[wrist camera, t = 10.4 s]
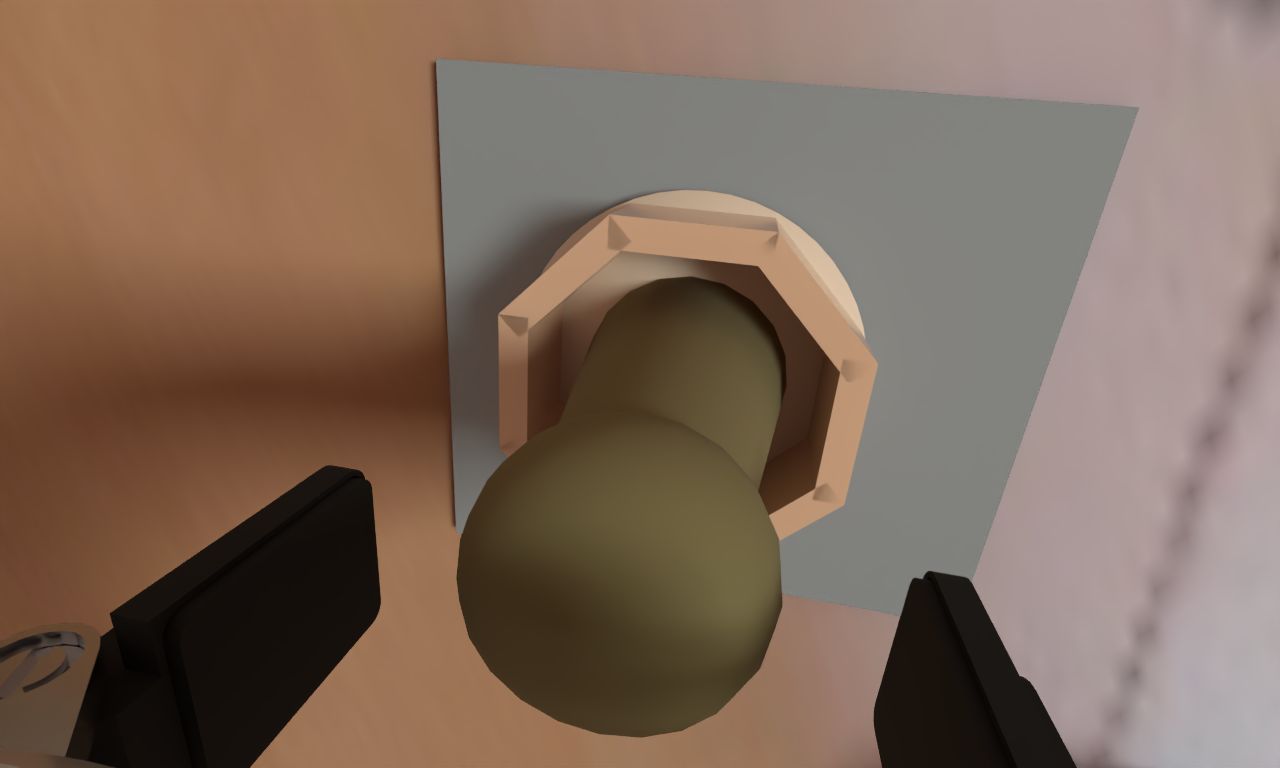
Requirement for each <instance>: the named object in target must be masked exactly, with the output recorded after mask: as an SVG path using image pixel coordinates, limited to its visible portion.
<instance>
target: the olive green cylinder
mask: <svg viewBox="0 0 1280 768" xmlns="http://www.w3.org/2000/svg"><path fill="white" fill-rule="evenodd" d="M786 386H787V383H786V355H785V353H784V350H783V348H782V345H781V342H780V340H779V337H778V335H777V332H776V330H775V327H774V325H773V324H772V323H771V322H770V321H769V320H768V318H767V317H766V316H765V315H764V314H763V312H762V311H761V310H760V309H759V308H758V307H757V305H756V304H755V303H754V302H753V301H752V300H750V299H748V298H747V297H745V296H744V295H742V294H740V293H739V292H737V291H735V290H734V289H732V288H730V287H729V286H727V285H725V284H723V283H719V282H714V281H710V280H706V279H702V278H698V277H693V276H688V277H676V278H663V279H658V280H655V281H653V282H651V283H648V284H646V285H644V286H641V287H639V288H636V289H634V290H632V291H630V292H629V293H628V294H626V295H625V296H624V297H623V298H622V299H621V300H620V301H619V302H617V303H616V304H615V305H614V306H613V307H612V308H611V309H610V310H609V311H607V313H606V315H605V317H604V319H603V320H602V322H601V324H600V326H599V328H598V329H597V331H596V333H595V335H594V337H593V339H592V341H591V344H590V346H589V349H588V351H587V354H586V356H585V359H584V361H583V364H582V366H581V369H580V371H579V374H578V377H577V379H576V382H575V384H574V387H573V389H572V392H571V394H570V397H569V399H568V402H567V404H566V407H565V409H564V412H563V414H562V417H561V419H560V422H559V424H558V425H555V426H553V427H550V428H548V429H546V430H544V431H542V432H540V433H538V434H536V435H534V436H533V437H532V438H531V439H530V440H528V441H527V442H526V443H525V444H524V445H522V446H521V447H520V448H519V449H518V450H517V451H515V452H514V453H513V454H512V455H511V456H509V457H508V458H507V459H506V460H505V461H503V462H502V463H501V465H500V466H499V467H498V468H497V469H496V470H495V472H494V473H493V474H492V475H491V476H490V477H489V478H488V480H487V481H486V483H485V485H484V487H483V489H482V491H481V493H480V495H479V497H478V498H477V500H476V502H475V504H474V506H473V508H472V510H471V512H470V513H469V515H468V518H467V521H466V524H465V527H464V530H463V533H462V536H461V539H460V548H459V558H458V568H457V586H458V593H459V601H460V605H461V609H462V613H463V616H464V620H465V624H466V628H467V631H468V635H469V638H470V640H471V641H472V643H473V645H474V646H475V648H476V649H477V651H478V652H479V654H480V656H481V657H482V659H483V660H484V662H485V664H486V665H487V667H488V668H489V670H490V671H491V672H492V673H493V674H494V675H495V676H496V677H497V678H498V679H499V680H500V681H501V682H502V683H504V684H505V685H506V686H507V687H508V688H509V689H510V690H511V691H512V692H513V693H514V694H515V695H516V696H517V697H519V698H520V699H521V700H522V701H524V702H526V703H528V704H529V705H531V706H533V707H535V708H536V709H538V710H540V711H541V712H543V713H545V714H547V715H548V716H550V717H552V718H554V719H555V720H557V721H560V722H563V723H566V724H569V725H572V726H575V727H579V728H582V729H585V730H588V731H591V732H594V733H598V734H605V735H617V736H630V737H647V736H653V735H659V734H665V733H671V732H677V731H682V730H684V729H686V728H688V727H690V726H692V725H694V724H696V723H698V722H700V721H702V720H704V719H706V718H708V717H710V716H712V715H714V714H716V713H717V712H718V711H719V710H721V709H722V708H723V707H724V706H725V705H726V704H727V703H728V702H729V701H730V700H731V699H732V698H733V697H734V696H735V695H736V693H737V692H738V691H739V690H740V689H741V688H742V687H743V686H744V685H745V684H746V683H747V682H748V681H749V680H750V679H751V678H752V677H753V675H754V674H755V673H756V672H757V671H758V670H759V669H760V667H761V665H762V662H763V659H764V657H765V654H766V651H767V649H768V646H769V643H770V641H771V638H772V635H773V633H774V630H775V627H776V624H777V621H778V618H779V615H780V612H781V609H782V585H781V562H780V548H779V538H778V535H777V533H776V531H775V528H774V526H773V524H772V522H771V519H770V517H769V515H768V512H767V510H766V508H765V505H764V503H763V501H762V499H761V496H760V494H759V492H758V490H759V486H760V482H761V479H762V475H763V471H764V468H765V464H766V460H767V456H768V453H769V449H770V445H771V442H772V438H773V434H774V431H775V427H776V423H777V419H778V416H779V412H780V408H781V405H782V401H783V397H784V393H785V390H786Z"/></svg>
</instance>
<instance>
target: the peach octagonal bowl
mask: <svg viewBox="0 0 1280 768" xmlns="http://www.w3.org/2000/svg"><path fill="white" fill-rule="evenodd" d="M688 276H693V277H698V278H702V279H706V280H710V281H714V282H719V283H723V284H725V285H727V286H729V287H730V288H732V289H734V290H735V291H737V292H739V293H740V294H742V295H744V296H745V297H747V298H748V299H750V300H752V301H753V302H754V303H755V304H756V305H757V307H758V308H759V309H760V310H761V311H762V312H763V314H764V315H765V316H766V317H767V318H768V320H769V321H770V322H771V323H772V324H773V325H774V327H775V330H776V332H777V335H778V337H779V340H780V342H781V345H782V348H783V350H784V353H785V355H786V383H787V386H786V390H785V393H784V397H783V401H782V405H781V408H780V412H779V416H778V419H777V423H776V427H775V431H774V434H773V438H772V442H771V445H770V449H769V453H768V456H767V460H766V464H765V468H764V471H763V475H762V479H761V482H760V486H759V490H758V492H759V494H760V496H761V499H762V501H763V503H764V505H765V508H766V510H767V512H768V515H769V517H770V519H771V522H772V524H773V526H774V528H775V531H776V533H777V535H778V538H779V541H780V540H782V539H784V538H786V537H787V536H789V535H791V534H793V533H795V532H796V531H798V530H800V529H802V528H804V527H805V526H807V525H809V524H811V523H813V522H815V521H816V520H818V519H820V518H822V517H824V516H825V515H827V514H829V513H831V512H833V511H834V510H836V509H838V508H840V507H842V506H844V504H845V500H846V496H847V492H848V488H849V484H850V480H851V475H852V471H853V467H854V463H855V459H856V455H857V450H858V446H859V442H860V438H861V434H862V430H863V426H864V421H865V417H866V413H867V409H868V405H869V401H870V397H871V392H872V388H873V384H874V380H875V376H876V372H877V367H878V362H877V360H876V359H875V357H874V355H873V353H872V351H871V349H870V347H869V345H868V344H867V342H866V340H865V333H864V327H863V323H862V320H861V316H860V313H859V309H858V306H857V304H856V301H855V299H854V297H853V295H852V292H851V290H850V288H849V286H848V284H847V282H846V280H845V279H844V277H843V276H842V274H841V272H840V271H839V269H838V268H837V266H836V265H835V263H834V262H833V260H832V259H831V257H830V256H829V255H828V254H827V253H826V252H825V250H824V249H823V248H822V247H821V246H820V245H819V244H818V242H817V241H816V240H815V239H813V238H812V237H811V236H810V235H809V234H808V233H807V232H805V231H804V230H803V229H802V228H801V227H800V226H799V225H797V224H796V223H794V222H793V221H791V220H790V219H788V218H787V217H785V216H783V215H782V214H780V213H779V212H777V211H775V210H773V209H771V208H769V207H767V206H765V205H762V204H760V203H758V202H756V201H753V200H750V199H747V198H743V197H740V196H737V195H734V194H730V193H723V192H717V191H711V190H693V189H681V190H672V191H663V192H657V193H653V194H649V195H646V196H642V197H638V198H635V199H632V200H630V201H628V202H625V203H623V204H620V205H618V206H615V207H613V208H611V209H609V210H607V211H605V212H604V213H602V214H600V215H599V216H597V217H595V218H593V219H592V220H590V221H589V222H588V223H586V224H585V225H584V226H583V227H581V228H580V229H579V230H577V231H576V232H575V233H574V234H572V235H571V237H570V238H569V239H568V240H567V241H566V242H565V243H564V244H563V245H562V246H561V247H560V248H559V249H558V250H557V251H556V253H555V254H554V256H553V257H552V258H551V260H550V261H549V263H548V264H547V265H546V267H545V268H544V270H543V272H542V274H541V276H540V277H539V278H538V279H537V280H536V281H535V282H534V283H532V284H531V285H530V286H529V287H528V288H527V289H526V290H525V291H524V292H522V293H521V294H520V295H519V296H518V297H517V298H516V299H515V300H514V301H512V302H511V303H510V304H509V305H508V306H507V307H506V308H505V309H503V310H502V311H501V312H500V313H499V314H498V332H499V434H500V449H501V450H502V451H503V453H504V454H505V455H506V456H507V457H509V456H511V455H512V454H513V453H514V452H515V451H517V450H518V449H519V448H520V447H521V446H522V445H524V444H525V443H526V442H527V441H528V440H530V439H531V438H532V437H533V436H534V435H536V434H538V433H540V432H542V431H544V430H546V429H548V428H550V427H553V426H555V425H558V424H559V422H560V419H561V417H562V414H563V412H564V409H565V407H566V404H567V402H568V399H569V397H570V394H571V392H572V389H573V387H574V384H575V382H576V379H577V377H578V374H579V371H580V369H581V366H582V364H583V361H584V359H585V356H586V354H587V351H588V349H589V346H590V344H591V341H592V339H593V337H594V335H595V333H596V331H597V329H598V328H599V326H600V324H601V322H602V320H603V319H604V317H605V315H606V313H607V311H609V310H610V309H611V308H612V307H613V306H614V305H615V304H616V303H617V302H619V301H620V300H621V299H622V298H623V297H624V296H625V295H626V294H628V293H629V292H630V291H632V290H634V289H636V288H639V287H641V286H644V285H646V284H648V283H651V282H653V281H655V280H658V279H663V278H676V277H688Z"/></svg>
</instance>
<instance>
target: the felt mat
mask: <svg viewBox="0 0 1280 768" xmlns="http://www.w3.org/2000/svg"><path fill="white" fill-rule="evenodd" d="M436 73H437V96H438V120H439V143H440V166H441V190H442V213H443V237H444V260H445V283H446V307H447V330H448V354H449V377H450V400H451V424H452V447H453V471H454V494H455V517H456V533H461V534H462V533H463V530H464V527H465V524H466V521H467V518H468V515H469V513H470V512H471V510H472V508H473V506H474V504H475V502H476V500H477V498H478V497H479V495H480V493H481V491H482V489H483V487H484V485H485V483H486V481H487V480H488V478H489V477H490V476H491V475H492V474H493V473H494V472H495V470H496V469H497V468H498V467H499V466H500V465H501V463H502V462H503V461H505V460H506V459H507V458H508V457H507V456H506V455H505V454H504V453H503V451H502V450H501V449H500V434H499V332H498V314H499V313H500V312H501V311H502V310H503V309H505V308H506V307H507V306H508V305H509V304H510V303H511V302H512V301H514V300H515V299H516V298H517V297H518V296H519V295H520V294H521V293H522V292H524V291H525V290H526V289H527V288H528V287H529V286H530V285H531V284H532V283H534V282H535V281H536V280H537V279H538V278H539V277H540V276H541V274H542V272H543V270H544V268H545V267H546V265H547V264H548V263H549V261H550V260H551V258H552V257H553V256H554V254H555V253H556V251H557V250H558V249H559V248H560V247H561V246H562V245H563V244H564V243H565V242H566V241H567V240H568V239H569V238H570V237H571V235H572V234H574V233H575V232H576V231H577V230H579V229H580V228H581V227H583V226H584V225H585V224H586V223H588V222H589V221H590V220H592V219H593V218H595V217H597V216H599V215H600V214H602V213H604V212H605V211H607V210H609V209H611V208H613V207H615V206H618V205H620V204H623V203H625V202H628V201H630V200H632V199H635V198H638V197H642V196H646V195H649V194H653V193H657V192H663V191H672V190H681V189H693V190H711V191H717V192H723V193H730V194H734V195H737V196H740V197H743V198H747V199H750V200H753V201H756V202H758V203H760V204H762V205H765V206H767V207H769V208H771V209H773V210H775V211H777V212H779V213H780V214H782V215H783V216H785V217H787V218H788V219H790V220H791V221H793V222H794V223H796V224H797V225H799V226H800V227H801V228H802V229H803V230H804V231H805V232H807V233H808V234H809V235H810V236H811V237H812V238H813V239H815V240H816V241H817V242H818V244H819V245H820V246H821V247H822V248H823V249H824V250H825V252H826V253H827V254H828V255H829V256H830V257H831V259H832V260H833V262H834V263H835V265H836V266H837V268H838V269H839V271H840V272H841V274H842V276H843V277H844V279H845V280H846V282H847V284H848V286H849V288H850V290H851V292H852V295H853V297H854V299H855V301H856V304H857V306H858V309H859V313H860V316H861V320H862V323H863V327H864V333H865V340H866V342H867V344H868V345H869V347H870V349H871V351H872V353H873V355H874V357H875V359H876V360H877V362H878V367H877V372H876V376H875V380H874V384H873V388H872V392H871V397H870V401H869V405H868V409H867V413H866V417H865V421H864V426H863V430H862V434H861V438H860V442H859V446H858V450H857V455H856V459H855V463H854V467H853V471H852V475H851V480H850V484H849V488H848V492H847V496H846V500H845V504H844V506H842V507H840V508H838V509H836V510H834V511H833V512H831V513H829V514H827V515H825V516H824V517H822V518H820V519H818V520H816V521H815V522H813V523H811V524H809V525H807V526H805V527H804V528H802V529H800V530H798V531H796V532H795V533H793V534H791V535H789V536H787V537H786V538H784V539H782V540H780V541H779V548H780V562H781V585H782V594H786V595H792V596H797V597H802V598H808V599H813V600H818V601H824V602H829V603H834V604H840V605H845V606H850V607H856V608H861V609H867V610H872V611H877V612H883V613H888V614H893V615H899V616H901V613H902V609H903V606H904V603H905V599H906V596H907V592H908V589H909V585H910V583H911V581H912V579H913V578H920V579H923V577H924V575H925V573H926V572H928V571H934V572H940V573H946V574H951V575H957V576H963V577H966V578H969V580H970V581H971V582H972V579H973V576H974V574H975V571H976V568H977V565H978V562H979V559H980V557H981V554H982V551H983V548H984V545H985V542H986V540H987V537H988V534H989V531H990V528H991V525H992V523H993V520H994V517H995V514H996V511H997V508H998V506H999V503H1000V500H1001V497H1002V494H1003V491H1004V489H1005V486H1006V483H1007V480H1008V477H1009V474H1010V472H1011V469H1012V466H1013V463H1014V460H1015V458H1016V455H1017V452H1018V449H1019V446H1020V443H1021V441H1022V438H1023V435H1024V432H1025V429H1026V426H1027V424H1028V421H1029V418H1030V415H1031V412H1032V409H1033V407H1034V404H1035V401H1036V398H1037V395H1038V392H1039V390H1040V387H1041V384H1042V381H1043V378H1044V375H1045V373H1046V370H1047V367H1048V364H1049V361H1050V358H1051V356H1052V353H1053V350H1054V347H1055V344H1056V342H1057V339H1058V336H1059V333H1060V330H1061V327H1062V325H1063V322H1064V319H1065V316H1066V313H1067V310H1068V308H1069V305H1070V302H1071V299H1072V296H1073V293H1074V291H1075V288H1076V285H1077V282H1078V279H1079V276H1080V274H1081V271H1082V268H1083V265H1084V262H1085V259H1086V257H1087V254H1088V251H1089V248H1090V245H1091V242H1092V240H1093V237H1094V234H1095V231H1096V228H1097V225H1098V223H1099V220H1100V217H1101V214H1102V211H1103V209H1104V206H1105V203H1106V200H1107V197H1108V194H1109V192H1110V189H1111V186H1112V183H1113V180H1114V177H1115V175H1116V172H1117V169H1118V166H1119V163H1120V160H1121V158H1122V155H1123V152H1124V149H1125V146H1126V143H1127V141H1128V138H1129V135H1130V132H1131V129H1132V126H1133V124H1134V121H1135V118H1136V115H1137V112H1138V109H1139V107H1125V106H1111V105H1096V104H1082V103H1068V102H1053V101H1039V100H1024V99H1010V98H996V97H981V96H967V95H953V94H938V93H924V92H909V91H895V90H881V89H866V88H852V87H838V86H823V85H809V84H794V83H780V82H766V81H751V80H737V79H723V78H708V77H694V76H679V75H665V74H651V73H636V72H622V71H607V70H593V69H579V68H564V67H550V66H536V65H521V64H507V63H492V62H478V61H464V60H449V59H436Z"/></svg>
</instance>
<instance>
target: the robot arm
mask: <svg viewBox="0 0 1280 768" xmlns="http://www.w3.org/2000/svg"><path fill="white" fill-rule="evenodd" d="M380 605H381V596H380V583H379V571H378V558H377V545H376V533H375V520H374V507H373V495H372V486H371V483H370V482H369V481H368V480H365V477H364V475H363V473H362V472H361V471H359V470H355V469H349V468H343V467H338V466H332V465H327V466H325V467H323V468H321V469H320V470H318V471H317V472H315V473H314V474H312V475H311V476H310V477H308V478H307V479H305V480H304V481H302V482H301V483H299V484H298V485H296V486H295V487H294V488H292V489H291V490H289V491H288V492H286V493H285V494H283V495H282V496H280V497H279V498H277V499H276V500H275V501H273V502H272V503H270V504H269V505H267V506H266V507H264V508H263V509H261V510H260V511H259V512H257V513H256V514H254V515H253V516H251V517H250V518H248V519H247V520H245V521H244V522H242V523H241V524H240V525H238V526H237V527H235V528H234V529H232V530H231V531H229V532H228V533H226V534H225V535H224V536H222V537H221V538H219V539H218V540H216V541H215V542H213V543H212V544H210V545H209V546H207V547H206V548H205V549H203V550H202V551H200V552H199V553H197V554H196V555H194V556H193V557H191V558H190V559H188V560H187V561H186V562H184V563H183V564H181V565H180V566H178V567H177V568H175V569H174V570H172V571H171V572H170V573H168V574H167V575H165V576H164V577H162V578H161V579H159V580H158V581H156V582H155V583H153V584H152V585H151V586H149V587H148V588H146V589H145V590H143V591H142V592H140V593H139V594H137V595H136V596H135V597H133V598H132V599H130V600H129V601H127V602H126V603H124V604H123V605H121V606H120V607H118V608H117V609H116V610H114V611H113V612H111V613H110V616H111V620H112V624H113V627H114V628H113V629H111V630H110V631H109V632H107V633H106V634H104V635H103V636H102V637H101V636H100V634H99V633H98V632H97V631H96V630H95V629H94V628H93V627H90V626H87V625H84V624H81V623H60V624H54V625H47V626H42V627H38V628H35V629H31V630H28V631H24V632H21V633H18V634H16V635H14V636H11V637H9V638H6V639H4V640H2V641H0V768H250V767H251V766H252V764H253V763H254V762H255V761H256V760H257V759H258V757H259V756H260V755H261V754H262V753H263V751H264V750H265V749H266V748H267V747H268V746H269V744H270V743H271V742H272V741H273V740H274V739H275V737H276V736H277V735H278V734H279V733H280V731H281V730H282V729H283V728H284V727H285V726H286V724H287V723H288V722H289V721H290V720H291V719H292V717H293V716H294V715H295V714H296V713H297V711H298V710H299V709H300V708H301V707H302V706H303V704H304V703H305V702H306V701H307V700H308V699H309V697H310V696H311V695H312V694H313V693H314V691H315V690H316V689H317V688H318V687H319V686H320V684H321V683H322V682H323V681H324V680H325V679H326V677H327V676H328V675H329V674H330V673H331V671H332V670H333V669H334V668H335V667H336V666H337V664H338V663H339V662H340V661H341V660H342V659H343V657H344V656H345V655H346V654H347V653H348V651H349V650H350V649H351V648H352V647H353V646H354V644H355V643H356V642H357V641H358V640H359V639H360V637H361V636H362V635H363V634H364V633H365V631H366V630H367V629H368V628H369V627H370V626H371V624H372V623H373V622H374V620H375V619H376V617H377V615H378V612H379V609H380ZM874 729H875V734H876V739H877V744H878V749H879V754H880V759H881V763H882V768H1077V767H1076V765H1075V763H1074V761H1073V760H1072V758H1071V756H1070V754H1069V752H1068V750H1067V748H1066V746H1065V744H1064V743H1063V741H1062V739H1061V737H1060V735H1059V733H1058V731H1057V729H1056V727H1055V726H1054V724H1053V722H1052V720H1051V718H1050V716H1049V714H1048V712H1047V711H1046V709H1045V707H1044V705H1043V703H1042V701H1041V699H1040V697H1039V695H1038V694H1037V692H1036V690H1035V689H1034V687H1033V686H1032V684H1031V683H1030V681H1028V680H1027V679H1025V678H1024V677H1021V676H1019V674H1018V672H1017V670H1016V668H1015V666H1014V664H1013V662H1012V660H1011V658H1010V657H1009V655H1008V653H1007V651H1006V649H1005V647H1004V645H1003V643H1002V641H1001V639H1000V637H999V635H998V633H997V631H996V629H995V627H994V625H993V623H992V621H991V619H990V618H989V616H988V614H987V612H986V610H985V608H984V606H983V604H982V602H981V600H980V598H979V596H978V594H977V592H976V590H975V588H974V586H973V584H972V583H971V581H970V580H969V578H966V577H963V576H957V575H951V574H946V573H940V572H934V571H928V572H926V573H925V575H924V577H923V579H920V578H913V579H912V581H911V583H910V585H909V589H908V592H907V596H906V599H905V603H904V606H903V609H902V613H901V616H900V620H899V623H898V627H897V630H896V634H895V637H894V640H893V644H892V647H891V651H890V654H889V658H888V661H887V665H886V668H885V672H884V675H883V678H882V682H881V685H880V689H879V692H878V696H877V699H876V703H875V707H874Z"/></svg>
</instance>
